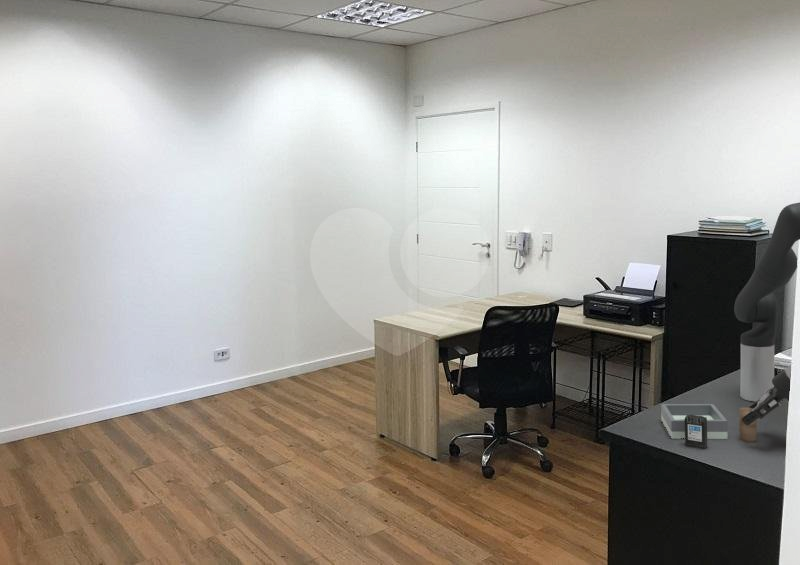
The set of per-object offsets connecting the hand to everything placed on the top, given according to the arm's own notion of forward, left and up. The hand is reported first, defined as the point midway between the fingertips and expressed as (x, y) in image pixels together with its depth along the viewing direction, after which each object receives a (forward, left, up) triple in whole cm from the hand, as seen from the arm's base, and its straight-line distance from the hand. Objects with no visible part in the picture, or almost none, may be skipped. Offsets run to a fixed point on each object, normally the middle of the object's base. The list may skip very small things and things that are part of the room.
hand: (746, 417), depth 176 cm
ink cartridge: (+5, -14, -6) cm, 16 cm away
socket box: (-7, -12, -6) cm, 15 cm away
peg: (0, 0, -6) cm, 6 cm away
